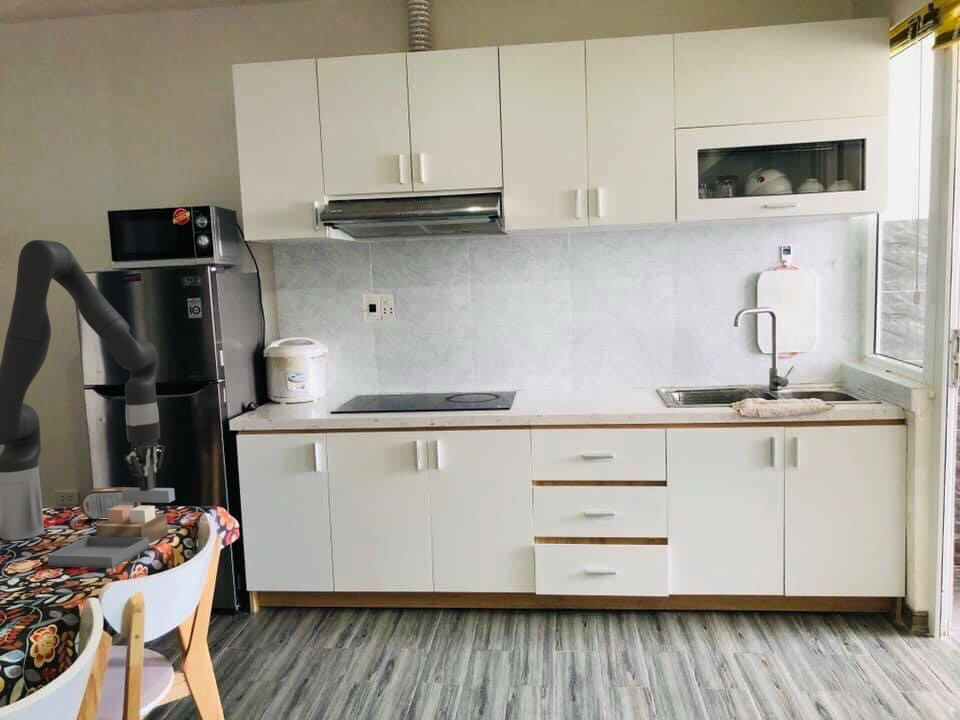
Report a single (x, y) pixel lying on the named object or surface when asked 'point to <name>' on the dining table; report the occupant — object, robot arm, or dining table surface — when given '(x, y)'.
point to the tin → (103, 501)
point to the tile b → (142, 514)
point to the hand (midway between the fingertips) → (147, 488)
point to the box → (98, 552)
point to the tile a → (119, 513)
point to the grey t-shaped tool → (148, 491)
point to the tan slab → (135, 528)
